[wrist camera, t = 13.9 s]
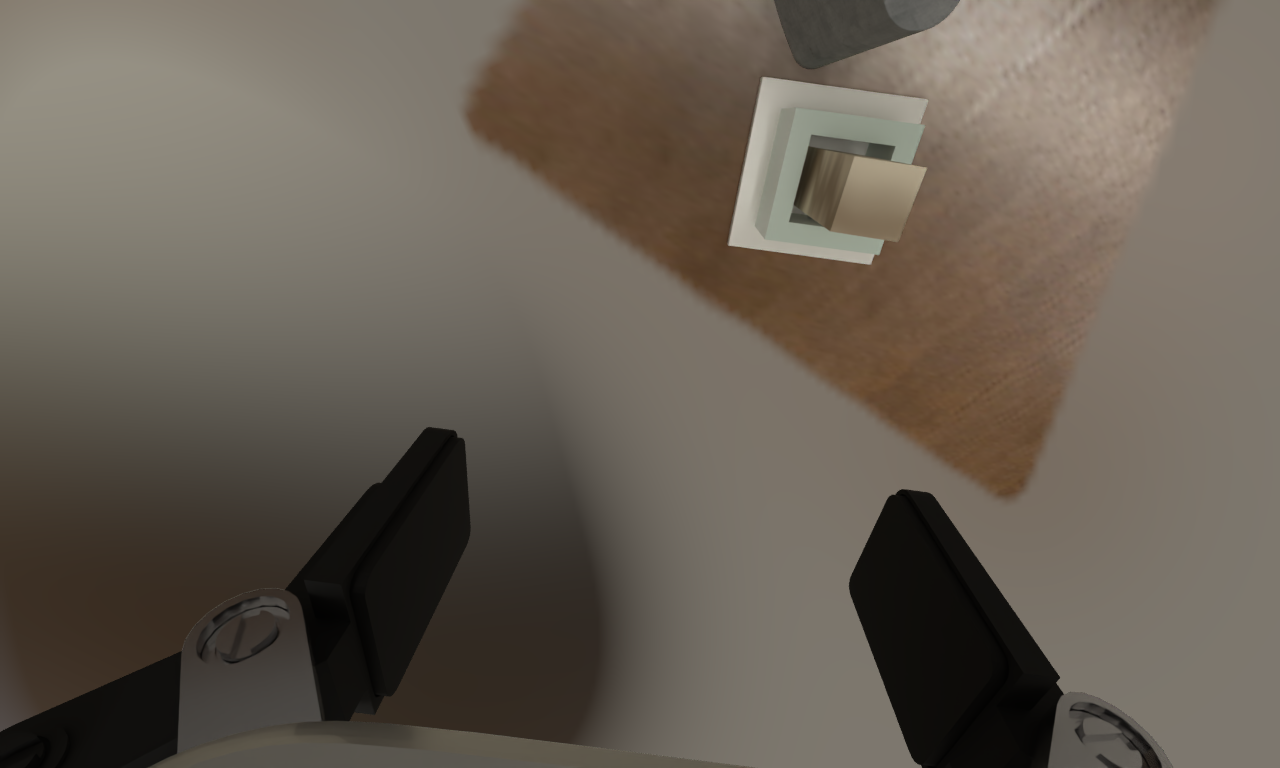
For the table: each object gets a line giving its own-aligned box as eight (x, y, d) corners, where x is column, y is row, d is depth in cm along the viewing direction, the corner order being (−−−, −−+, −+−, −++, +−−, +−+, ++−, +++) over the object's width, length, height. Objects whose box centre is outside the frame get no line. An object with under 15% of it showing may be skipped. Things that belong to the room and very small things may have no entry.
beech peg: (802, 145, 37) (854, 156, 26) (855, 153, 37) (927, 167, 26) (787, 200, 39) (830, 231, 28) (837, 208, 39) (897, 242, 28)
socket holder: (760, 77, 36) (775, 70, 31) (922, 99, 36) (965, 96, 31) (727, 242, 42) (734, 260, 36) (866, 261, 42) (894, 282, 36)
